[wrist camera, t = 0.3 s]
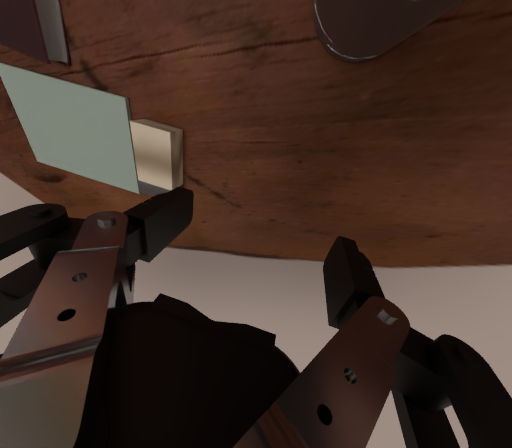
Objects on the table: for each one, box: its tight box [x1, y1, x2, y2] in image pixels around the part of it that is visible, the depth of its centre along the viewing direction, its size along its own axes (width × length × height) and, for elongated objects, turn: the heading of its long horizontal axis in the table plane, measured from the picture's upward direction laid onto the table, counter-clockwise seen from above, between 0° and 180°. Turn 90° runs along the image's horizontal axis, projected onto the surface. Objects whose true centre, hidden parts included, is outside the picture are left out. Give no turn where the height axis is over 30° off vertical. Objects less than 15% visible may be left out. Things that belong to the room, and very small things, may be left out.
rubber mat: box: [0, 62, 141, 194], centre depth 30 cm, size 14×20×1 cm
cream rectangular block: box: [130, 119, 183, 196], centre depth 28 cm, size 10×6×3 cm, turn 167°
